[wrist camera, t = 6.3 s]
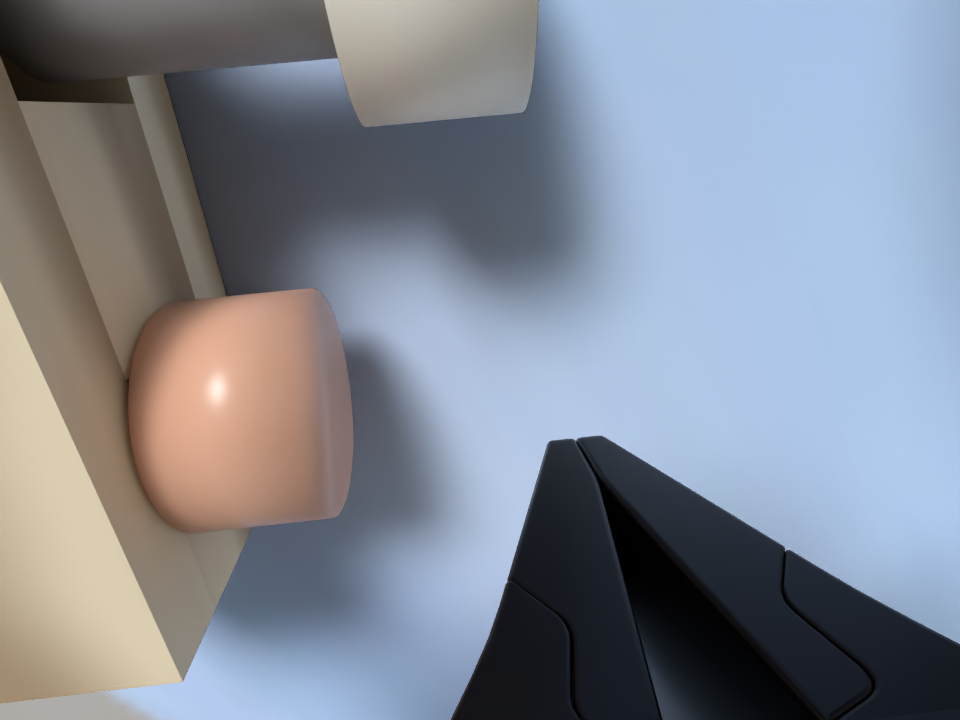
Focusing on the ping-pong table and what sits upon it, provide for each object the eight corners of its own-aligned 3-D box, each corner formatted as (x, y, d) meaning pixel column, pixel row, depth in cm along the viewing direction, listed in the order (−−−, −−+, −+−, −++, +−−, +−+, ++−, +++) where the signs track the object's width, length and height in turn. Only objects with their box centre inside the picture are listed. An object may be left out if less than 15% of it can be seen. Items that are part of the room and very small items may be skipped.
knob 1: (326, 262, 12) (268, 338, 8) (361, 436, 14) (329, 571, 10) (-9, 295, 12) (-242, 390, 8) (71, 468, 14) (-83, 618, 10)
